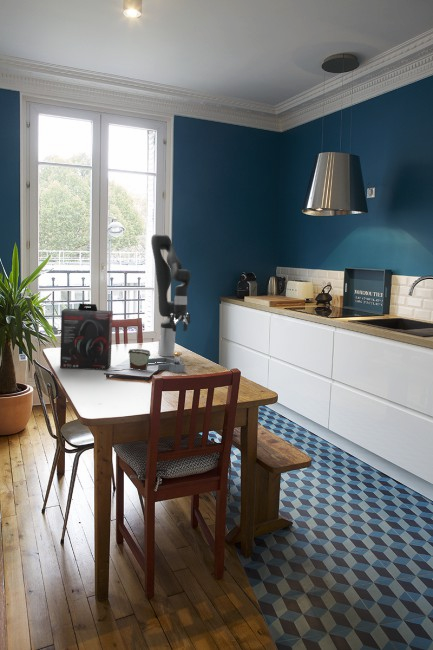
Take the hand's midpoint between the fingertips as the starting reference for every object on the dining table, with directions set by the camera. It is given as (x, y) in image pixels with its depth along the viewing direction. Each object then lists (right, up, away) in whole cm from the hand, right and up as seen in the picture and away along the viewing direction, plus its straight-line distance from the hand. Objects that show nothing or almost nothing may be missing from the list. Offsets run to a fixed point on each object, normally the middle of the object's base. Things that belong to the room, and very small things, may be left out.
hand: (179, 331), depth 298 cm
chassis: (-5, -20, -23) cm, 30 cm away
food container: (-19, -20, -30) cm, 40 cm away
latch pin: (+1, -17, -30) cm, 34 cm away
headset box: (-46, -18, -35) cm, 61 cm away
